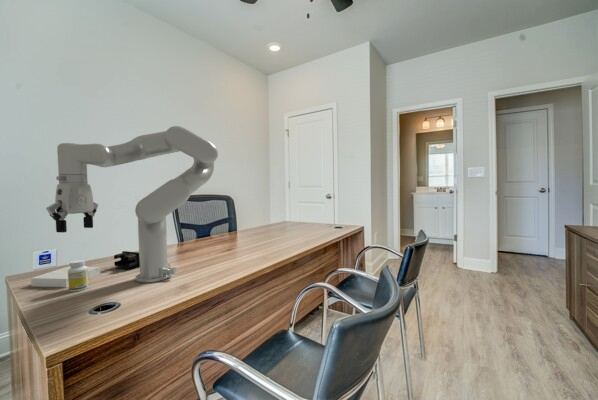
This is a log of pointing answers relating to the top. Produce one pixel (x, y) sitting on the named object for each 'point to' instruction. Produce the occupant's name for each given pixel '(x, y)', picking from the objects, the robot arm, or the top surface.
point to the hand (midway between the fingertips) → (75, 229)
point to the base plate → (59, 277)
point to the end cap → (127, 260)
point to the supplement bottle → (78, 276)
